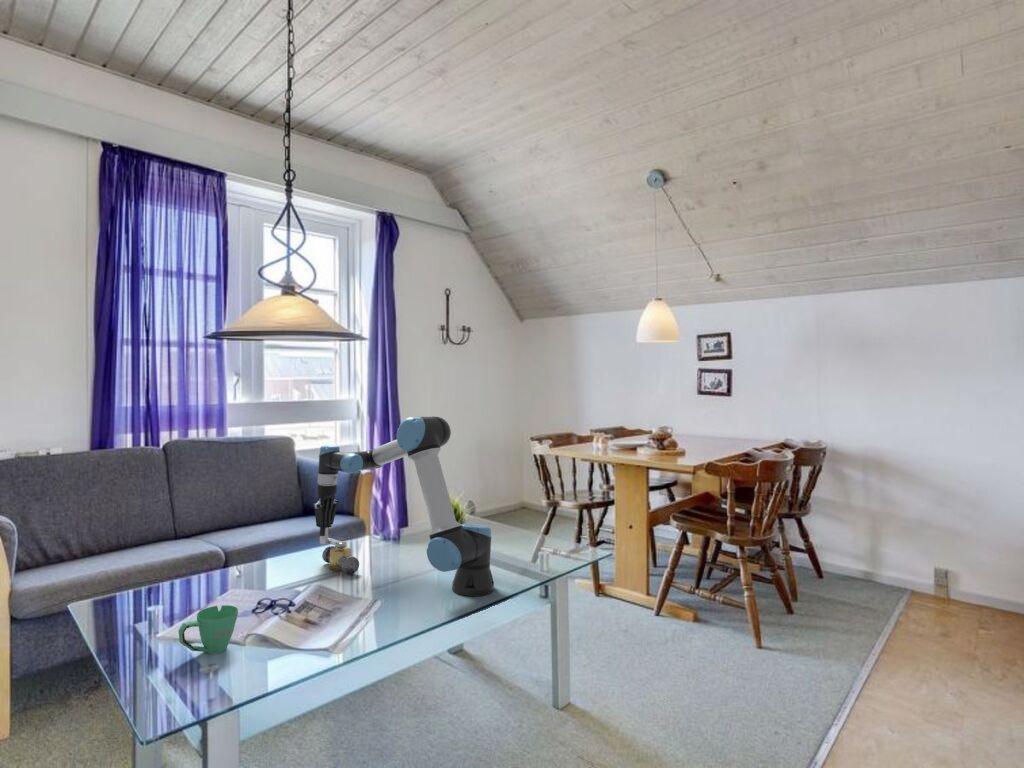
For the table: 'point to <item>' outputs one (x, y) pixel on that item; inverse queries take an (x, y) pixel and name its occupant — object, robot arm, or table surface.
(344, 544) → the lever
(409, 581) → the table surface
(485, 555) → the robot arm
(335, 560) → the valve body
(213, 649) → the mug
